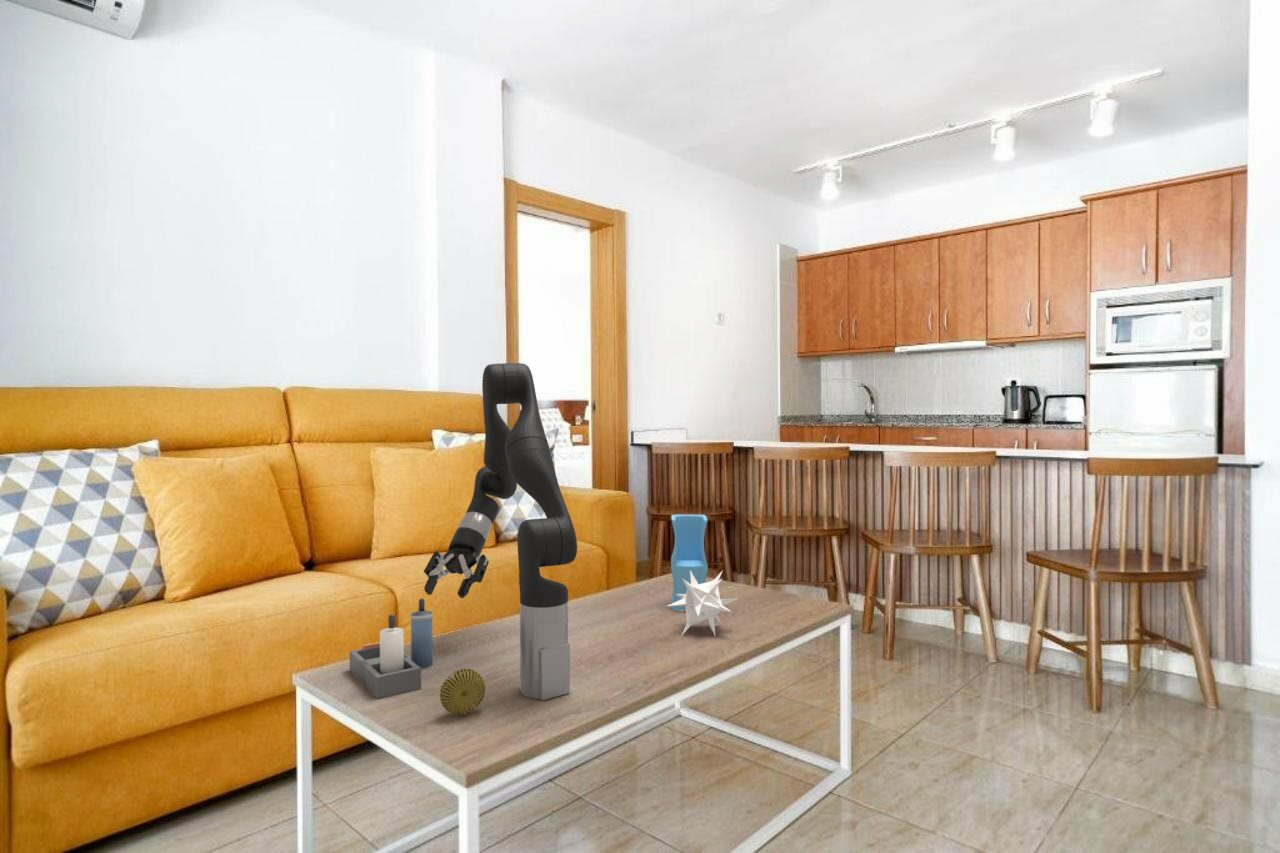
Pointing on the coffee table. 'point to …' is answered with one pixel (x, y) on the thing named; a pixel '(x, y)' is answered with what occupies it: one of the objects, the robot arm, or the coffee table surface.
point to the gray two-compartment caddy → (386, 664)
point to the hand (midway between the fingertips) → (443, 594)
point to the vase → (688, 553)
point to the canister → (422, 636)
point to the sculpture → (462, 692)
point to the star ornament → (702, 602)
